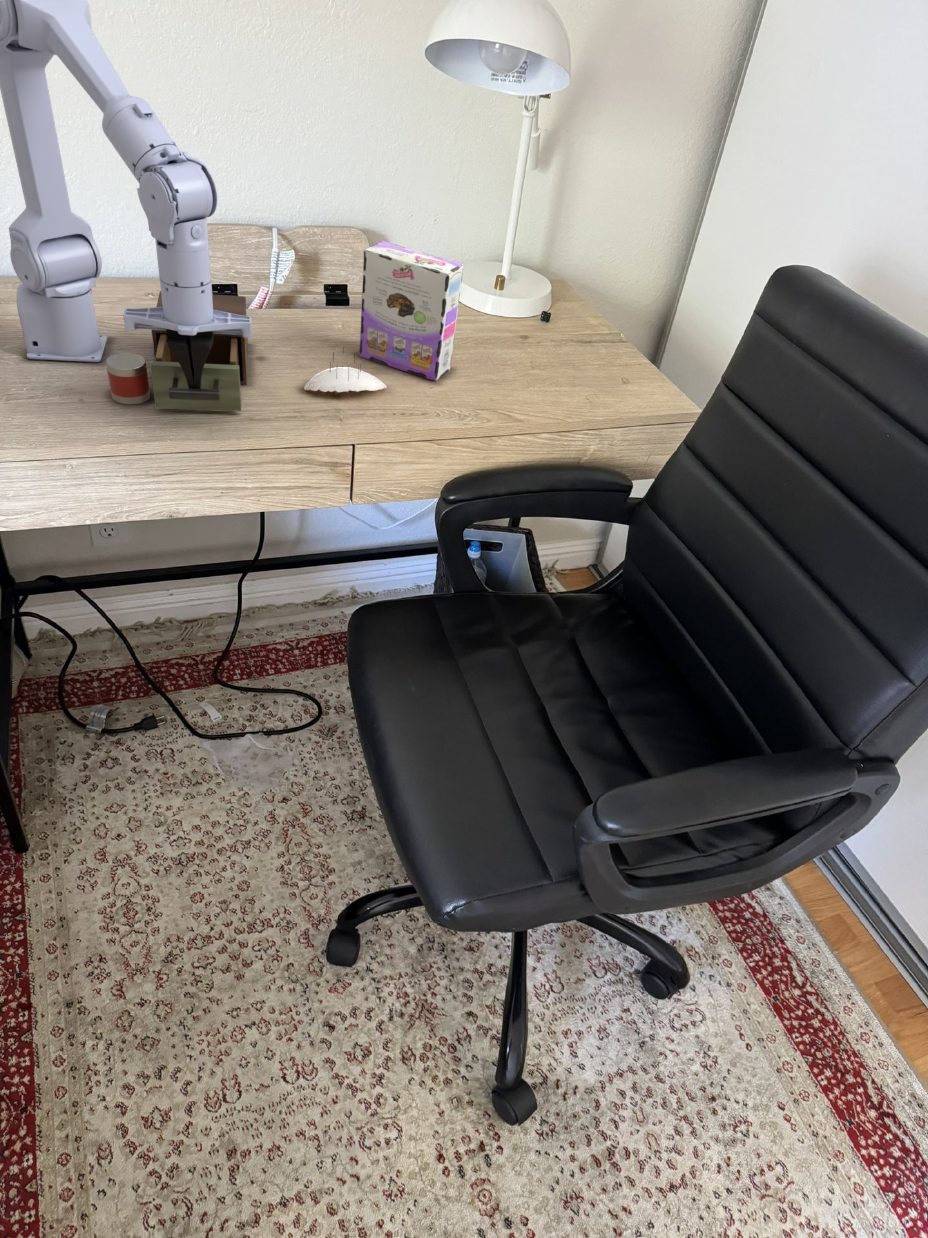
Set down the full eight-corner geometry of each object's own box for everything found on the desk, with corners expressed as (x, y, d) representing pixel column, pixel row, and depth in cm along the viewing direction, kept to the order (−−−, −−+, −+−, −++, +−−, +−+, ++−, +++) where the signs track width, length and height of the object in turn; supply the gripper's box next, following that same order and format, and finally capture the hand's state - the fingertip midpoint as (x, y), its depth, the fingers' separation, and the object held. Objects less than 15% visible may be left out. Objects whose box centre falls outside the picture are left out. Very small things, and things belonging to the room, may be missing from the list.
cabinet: (246, 384, 115) (244, 333, 110) (157, 381, 112) (151, 328, 107) (247, 344, 124) (245, 296, 119) (165, 340, 121) (159, 290, 116)
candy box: (451, 369, 127) (466, 263, 116) (435, 383, 123) (449, 273, 112) (375, 344, 130) (382, 237, 119) (357, 356, 126) (362, 247, 115)
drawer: (240, 427, 105) (238, 384, 101) (152, 424, 102) (146, 381, 98) (242, 369, 116) (240, 328, 112) (163, 365, 114) (158, 324, 110)
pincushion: (381, 380, 121) (384, 344, 117) (390, 400, 117) (393, 363, 113) (301, 381, 118) (301, 343, 114) (307, 401, 113) (308, 363, 110)
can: (109, 404, 106) (103, 368, 102) (114, 386, 109) (108, 351, 106) (148, 405, 107) (143, 370, 103) (152, 387, 110) (147, 353, 107)
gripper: (114, 286, 89) (130, 399, 98) (249, 296, 92) (253, 404, 101) (121, 263, 94) (137, 372, 103) (250, 273, 97) (254, 377, 106)
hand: (195, 386), depth 102 cm, fingers closed
